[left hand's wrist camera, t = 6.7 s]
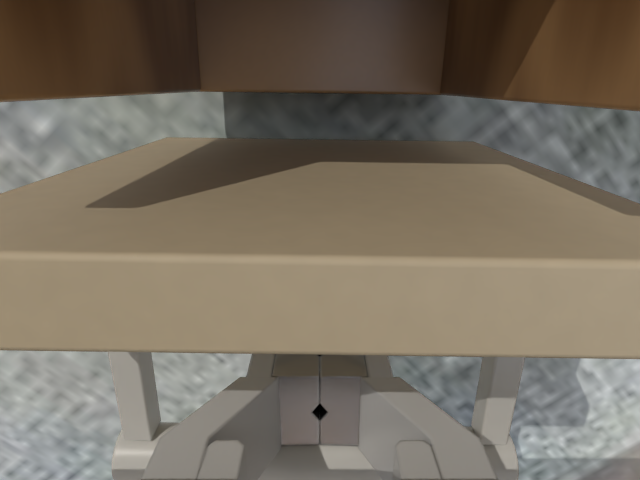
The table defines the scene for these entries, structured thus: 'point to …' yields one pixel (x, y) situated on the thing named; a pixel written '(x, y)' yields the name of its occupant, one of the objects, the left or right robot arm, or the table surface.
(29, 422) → the table surface
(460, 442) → the left robot arm
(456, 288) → the drawer
